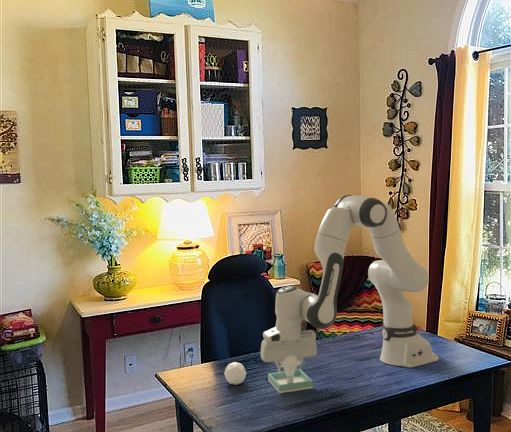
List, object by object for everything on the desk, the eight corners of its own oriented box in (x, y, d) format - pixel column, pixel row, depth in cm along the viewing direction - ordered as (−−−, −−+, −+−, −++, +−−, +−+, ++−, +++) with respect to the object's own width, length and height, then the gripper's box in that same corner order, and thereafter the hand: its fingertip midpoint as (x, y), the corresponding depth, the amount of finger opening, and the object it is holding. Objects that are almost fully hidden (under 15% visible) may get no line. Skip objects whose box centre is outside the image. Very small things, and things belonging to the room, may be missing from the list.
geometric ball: (229, 391, 208) (217, 372, 210) (247, 378, 212) (234, 360, 213) (235, 387, 201) (222, 367, 203) (253, 374, 205) (240, 355, 207)
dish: (300, 375, 213) (300, 369, 213) (313, 388, 201) (312, 380, 201) (268, 380, 209) (268, 373, 209) (279, 393, 197) (279, 385, 197)
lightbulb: (288, 387, 200) (287, 356, 199) (277, 382, 206) (276, 352, 205) (302, 383, 204) (301, 352, 203) (291, 378, 209) (290, 348, 208)
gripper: (312, 326, 209) (313, 364, 211) (258, 333, 204) (259, 371, 205) (319, 331, 203) (320, 369, 204) (263, 338, 198) (265, 377, 199)
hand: (289, 370), depth 205 cm, fingers closed on lightbulb, 5 cm apart
